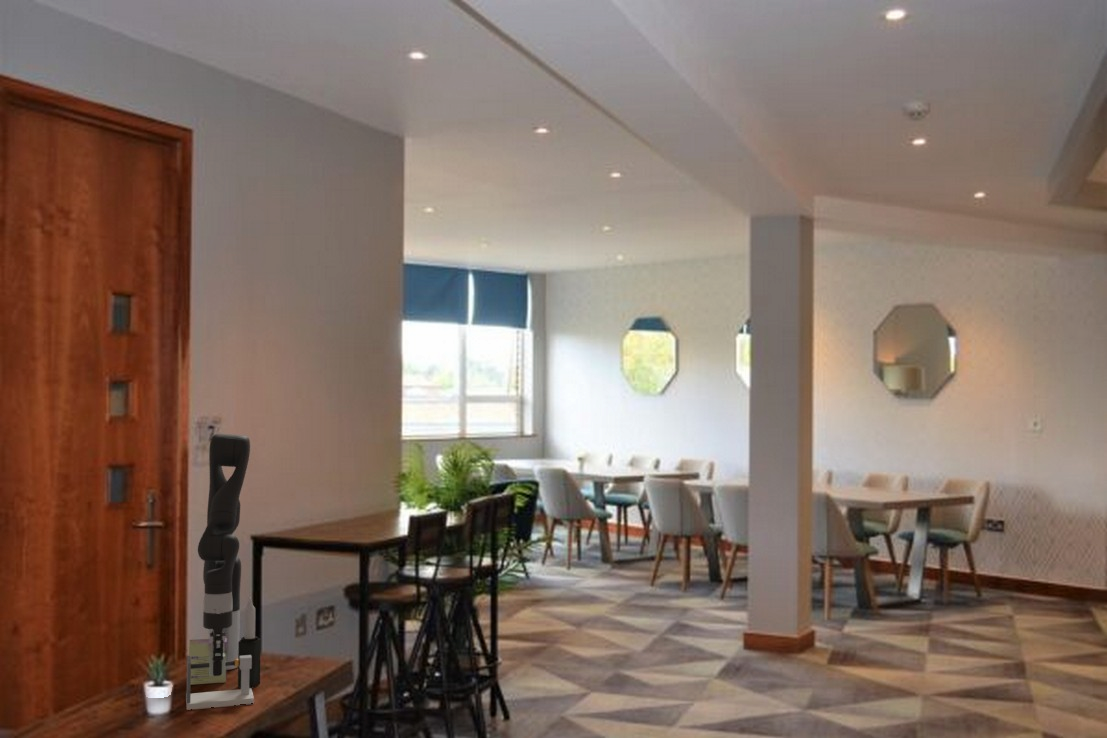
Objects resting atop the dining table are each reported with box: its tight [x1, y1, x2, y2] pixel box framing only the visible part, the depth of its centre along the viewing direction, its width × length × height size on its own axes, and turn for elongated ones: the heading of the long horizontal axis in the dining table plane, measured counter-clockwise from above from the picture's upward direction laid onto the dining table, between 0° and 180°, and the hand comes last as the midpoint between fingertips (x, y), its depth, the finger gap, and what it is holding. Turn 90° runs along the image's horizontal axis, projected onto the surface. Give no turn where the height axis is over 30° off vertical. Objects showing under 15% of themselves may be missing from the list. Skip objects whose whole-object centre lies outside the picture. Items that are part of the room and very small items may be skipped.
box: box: [188, 638, 227, 686], centre depth 302 cm, size 10×6×12 cm, turn 108°
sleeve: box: [209, 653, 225, 676], centre depth 282 cm, size 4×4×5 cm
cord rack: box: [185, 655, 255, 711], centre depth 282 cm, size 10×17×12 cm, turn 110°
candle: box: [237, 596, 262, 689], centre depth 298 cm, size 5×5×25 cm
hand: (217, 672), depth 282 cm, fingers closed on sleeve, 4 cm apart
